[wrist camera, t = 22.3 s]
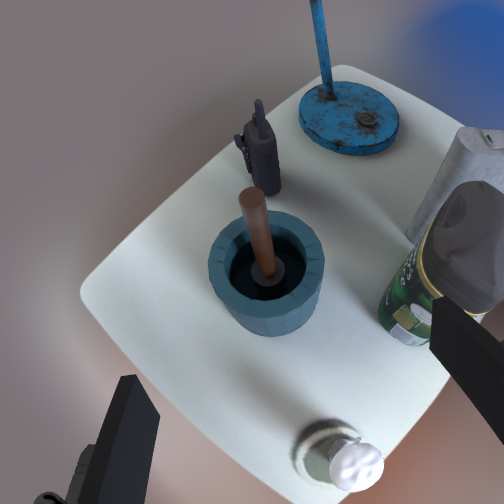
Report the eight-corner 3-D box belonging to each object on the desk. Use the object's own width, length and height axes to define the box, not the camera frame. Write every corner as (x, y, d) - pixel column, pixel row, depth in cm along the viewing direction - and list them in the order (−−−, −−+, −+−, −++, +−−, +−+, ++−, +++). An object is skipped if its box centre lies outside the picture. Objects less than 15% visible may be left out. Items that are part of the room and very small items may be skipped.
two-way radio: (284, 195, 42) (277, 106, 28) (251, 204, 42) (231, 118, 28) (272, 164, 44) (260, 77, 31) (241, 173, 44) (219, 87, 31)
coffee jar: (405, 254, 36) (466, 153, 20) (455, 290, 33) (543, 211, 17) (363, 320, 34) (422, 247, 17) (418, 358, 31) (516, 318, 14)
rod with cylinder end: (272, 310, 35) (250, 230, 19) (252, 290, 36) (215, 199, 20) (293, 289, 36) (289, 195, 19) (272, 271, 37) (252, 168, 21)
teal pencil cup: (271, 355, 34) (263, 343, 26) (210, 292, 38) (186, 262, 29) (336, 290, 36) (347, 258, 28) (273, 234, 40) (266, 192, 32)
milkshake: (362, 421, 29) (388, 431, 20) (365, 467, 27) (390, 491, 18) (319, 428, 30) (329, 442, 21) (323, 474, 27) (333, 503, 18)
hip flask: (490, 205, 37) (556, 109, 19) (502, 230, 36) (577, 138, 18) (403, 226, 38) (459, 106, 20) (414, 255, 36) (486, 143, 18)
